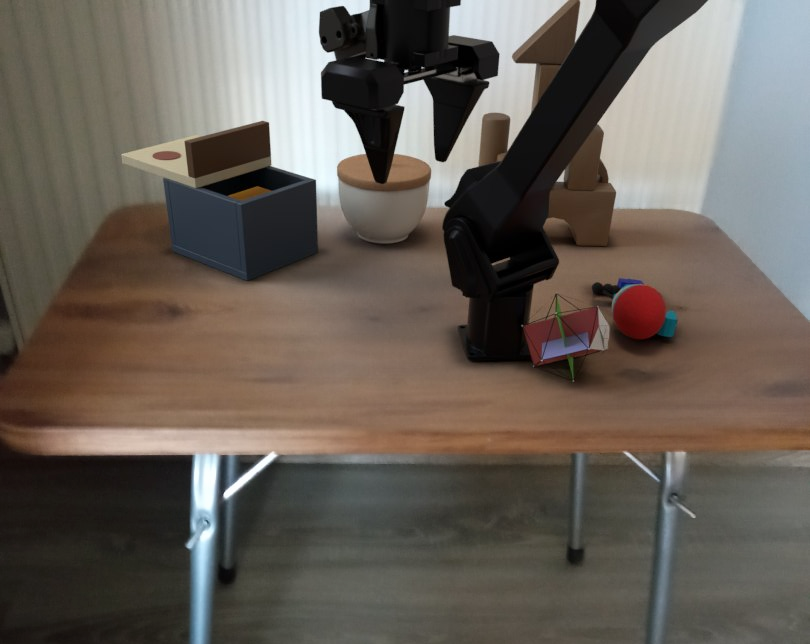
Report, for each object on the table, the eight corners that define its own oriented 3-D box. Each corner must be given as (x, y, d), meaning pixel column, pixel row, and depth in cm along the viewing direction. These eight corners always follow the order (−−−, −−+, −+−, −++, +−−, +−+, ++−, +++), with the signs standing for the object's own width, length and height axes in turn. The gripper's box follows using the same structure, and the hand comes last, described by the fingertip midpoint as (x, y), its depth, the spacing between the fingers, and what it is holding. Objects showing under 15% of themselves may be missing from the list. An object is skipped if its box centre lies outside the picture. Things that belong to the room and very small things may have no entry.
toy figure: (582, 303, 97) (602, 344, 84) (593, 256, 94) (615, 291, 81) (651, 312, 97) (682, 355, 84) (663, 266, 94) (697, 302, 81)
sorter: (318, 252, 101) (316, 179, 96) (247, 281, 95) (241, 204, 90) (244, 225, 107) (238, 155, 102) (172, 251, 100) (162, 177, 95)
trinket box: (427, 253, 102) (432, 168, 96) (334, 249, 102) (332, 163, 96) (427, 220, 111) (432, 140, 105) (341, 216, 110) (340, 136, 105)
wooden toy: (596, 226, 111) (635, -8, 95) (607, 246, 106) (651, 2, 90) (472, 223, 110) (491, -13, 94) (477, 243, 105) (498, -3, 89)
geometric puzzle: (502, 360, 78) (568, 295, 74) (506, 325, 83) (568, 263, 79) (561, 409, 80) (629, 350, 76) (561, 372, 86) (625, 315, 81)
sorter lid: (271, 165, 99) (269, 122, 97) (195, 188, 93) (190, 142, 90) (198, 143, 105) (194, 101, 102) (122, 163, 98) (115, 119, 95)
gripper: (409, -41, 84) (405, 136, 93) (267, -25, 72) (279, 176, 82) (509, -29, 78) (494, 157, 88) (374, -9, 67) (373, 203, 77)
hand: (411, 171), depth 84 cm, fingers open, 9 cm apart
